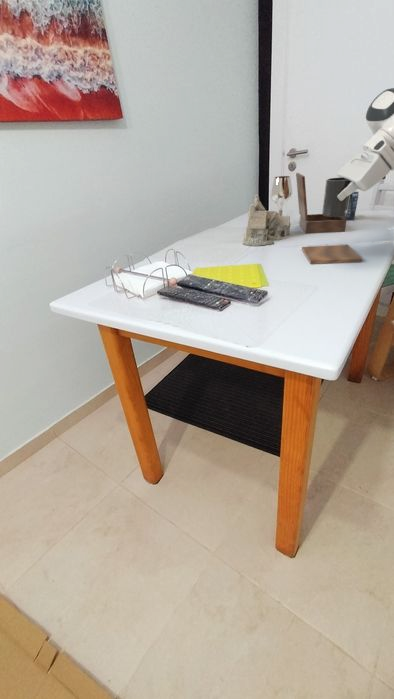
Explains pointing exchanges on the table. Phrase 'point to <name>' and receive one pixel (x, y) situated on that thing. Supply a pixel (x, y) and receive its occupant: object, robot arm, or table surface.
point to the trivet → (330, 254)
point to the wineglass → (281, 190)
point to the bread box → (322, 224)
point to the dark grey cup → (335, 198)
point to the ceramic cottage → (265, 225)
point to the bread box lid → (302, 196)
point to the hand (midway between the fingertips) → (334, 196)
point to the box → (352, 206)
